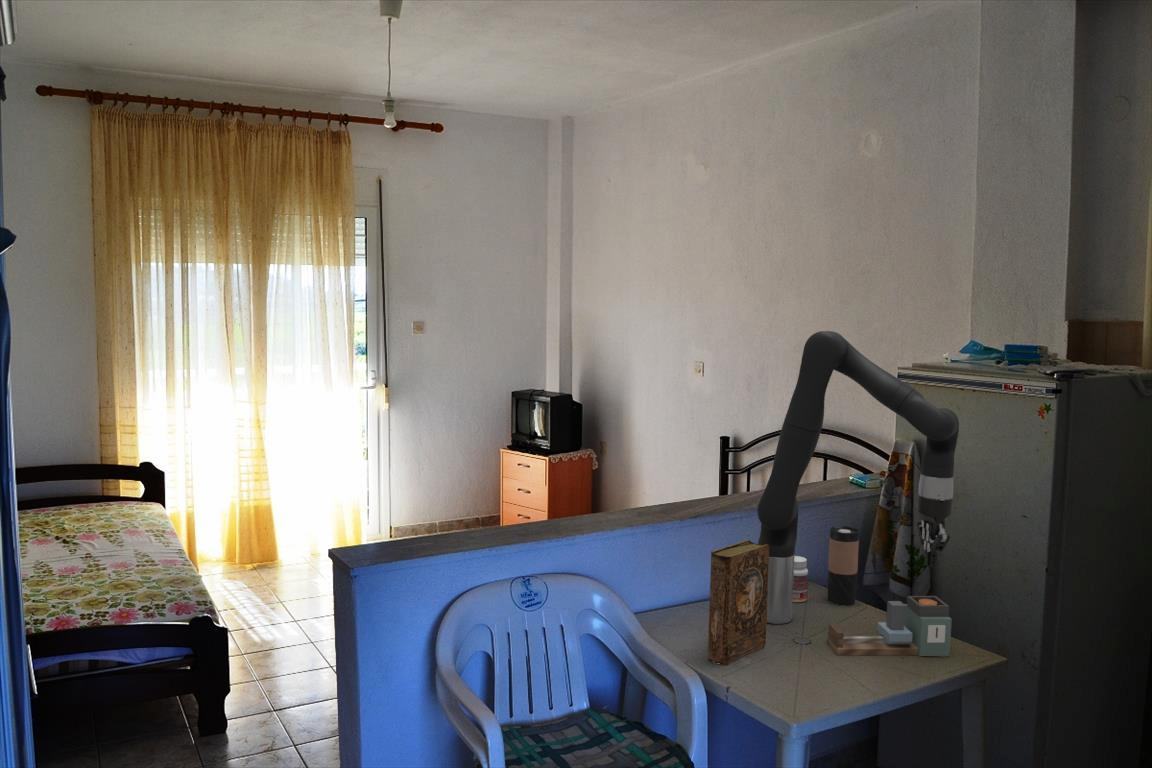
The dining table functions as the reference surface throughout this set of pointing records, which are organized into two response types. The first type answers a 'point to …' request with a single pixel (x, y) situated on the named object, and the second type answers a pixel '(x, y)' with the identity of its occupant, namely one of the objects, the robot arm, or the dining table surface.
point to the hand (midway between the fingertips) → (930, 566)
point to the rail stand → (865, 644)
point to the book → (738, 601)
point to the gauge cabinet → (929, 626)
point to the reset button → (927, 602)
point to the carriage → (895, 625)
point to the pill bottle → (800, 579)
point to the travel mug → (843, 565)
